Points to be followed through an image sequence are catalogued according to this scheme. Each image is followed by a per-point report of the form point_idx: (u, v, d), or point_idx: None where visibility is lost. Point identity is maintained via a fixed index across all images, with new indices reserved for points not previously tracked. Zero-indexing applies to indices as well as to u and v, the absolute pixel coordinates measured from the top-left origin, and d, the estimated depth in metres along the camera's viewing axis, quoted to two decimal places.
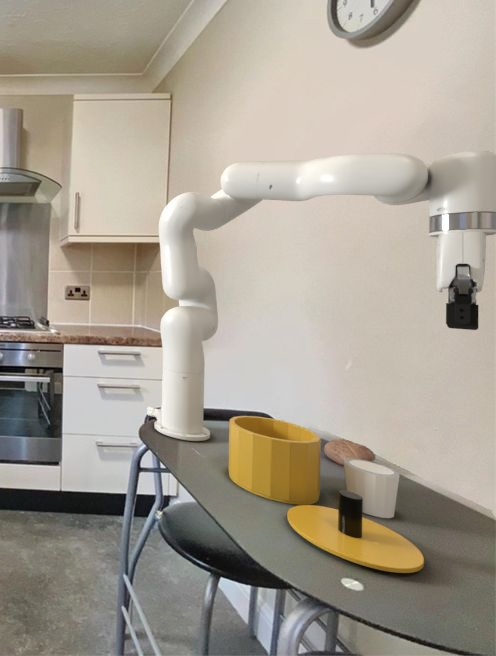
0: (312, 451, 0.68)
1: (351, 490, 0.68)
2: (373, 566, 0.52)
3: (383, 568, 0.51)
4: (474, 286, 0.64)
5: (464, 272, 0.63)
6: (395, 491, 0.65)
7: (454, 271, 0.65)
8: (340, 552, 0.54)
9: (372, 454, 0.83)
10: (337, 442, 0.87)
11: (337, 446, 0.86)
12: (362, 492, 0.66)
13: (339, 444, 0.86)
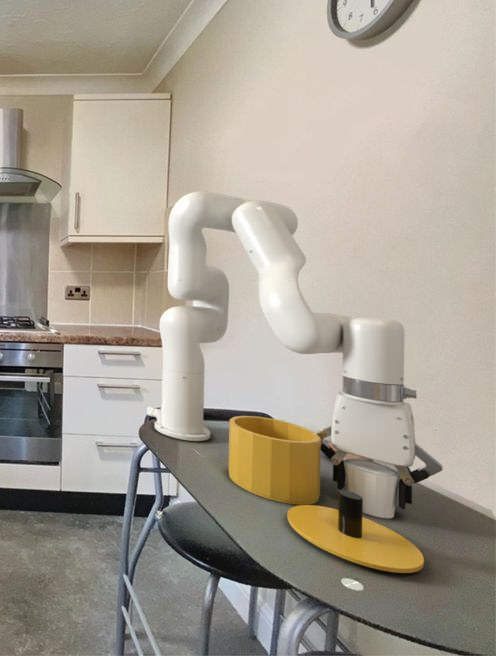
0: (312, 451, 0.68)
1: (351, 490, 0.68)
2: (373, 566, 0.52)
3: (383, 568, 0.51)
4: None
5: (318, 431, 0.73)
6: (395, 491, 0.65)
7: None
8: (340, 552, 0.54)
9: None
10: None
11: None
12: (362, 492, 0.66)
13: None
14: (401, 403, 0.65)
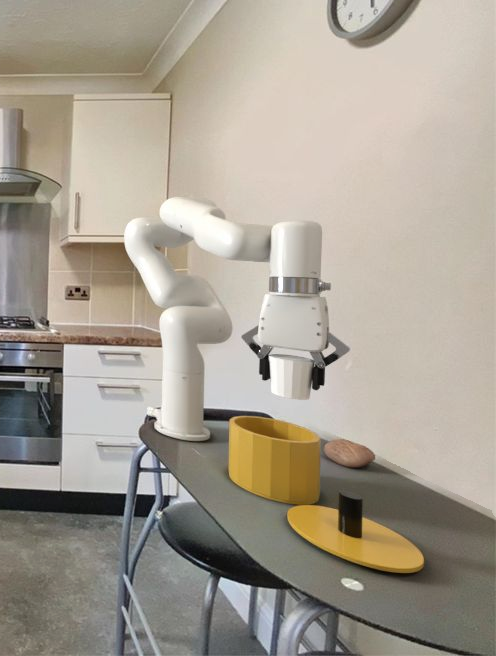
0: (312, 451, 0.68)
1: (273, 379, 0.74)
2: (373, 566, 0.52)
3: (383, 568, 0.51)
4: None
5: (248, 331, 0.79)
6: (310, 375, 0.71)
7: None
8: (340, 552, 0.54)
9: (372, 454, 0.83)
10: (337, 442, 0.87)
11: (337, 446, 0.86)
12: (281, 378, 0.73)
13: (339, 444, 0.86)
14: (317, 295, 0.71)
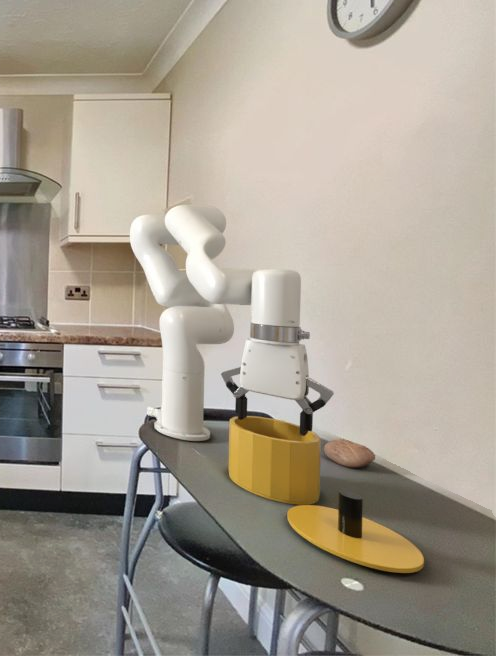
0: (312, 451, 0.68)
1: None
2: (373, 566, 0.52)
3: (383, 568, 0.51)
4: None
5: (229, 370, 0.81)
6: None
7: None
8: (340, 552, 0.54)
9: (372, 454, 0.83)
10: (337, 442, 0.87)
11: (337, 446, 0.86)
12: None
13: (339, 444, 0.86)
14: (296, 343, 0.72)
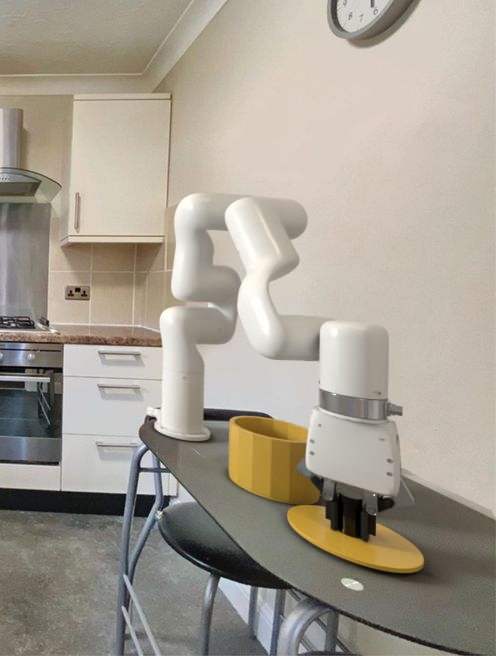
0: None
1: None
2: (373, 566, 0.52)
3: (383, 568, 0.51)
4: (324, 477, 0.60)
5: (301, 460, 0.63)
6: None
7: None
8: (340, 552, 0.54)
9: None
10: None
11: None
12: None
13: None
14: (385, 421, 0.55)
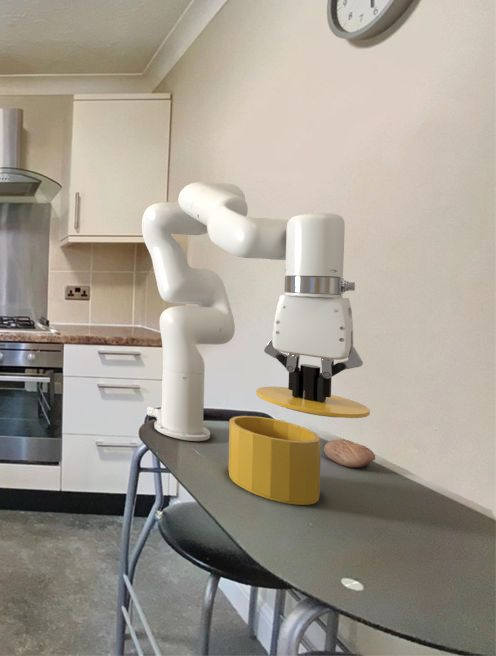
0: (312, 451, 0.68)
1: None
2: (324, 413, 0.60)
3: (333, 414, 0.60)
4: None
5: (268, 343, 0.71)
6: None
7: None
8: (297, 406, 0.62)
9: (372, 454, 0.83)
10: (337, 442, 0.87)
11: (337, 446, 0.86)
12: None
13: (339, 444, 0.86)
14: (339, 296, 0.63)
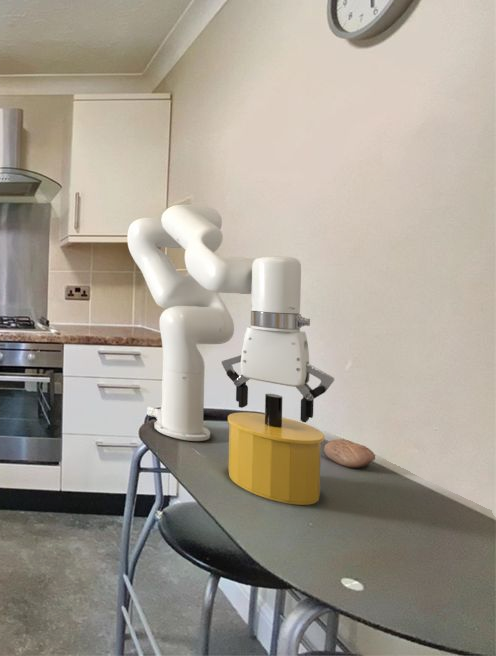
0: (312, 451, 0.68)
1: None
2: (283, 440, 0.68)
3: (290, 441, 0.68)
4: None
5: None
6: None
7: None
8: (261, 433, 0.70)
9: (372, 454, 0.83)
10: (337, 442, 0.87)
11: (337, 446, 0.86)
12: None
13: (339, 444, 0.86)
14: (296, 330, 0.72)
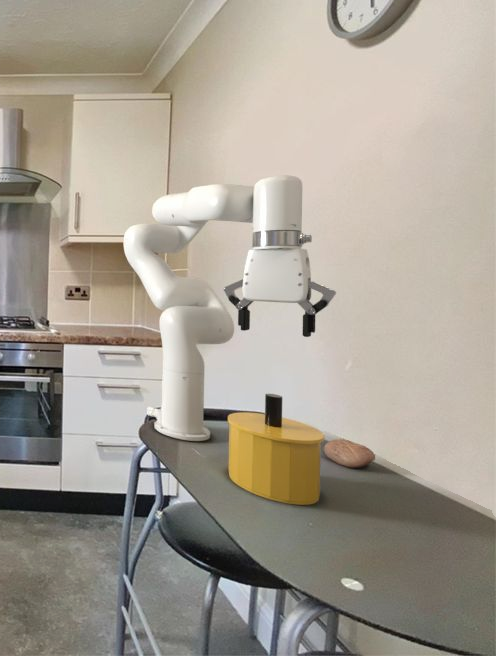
0: (312, 451, 0.68)
1: None
2: (283, 440, 0.68)
3: (290, 441, 0.68)
4: None
5: (231, 284, 0.81)
6: None
7: None
8: (261, 433, 0.70)
9: (372, 454, 0.83)
10: (337, 442, 0.87)
11: (337, 446, 0.86)
12: None
13: (339, 444, 0.86)
14: (298, 247, 0.72)
